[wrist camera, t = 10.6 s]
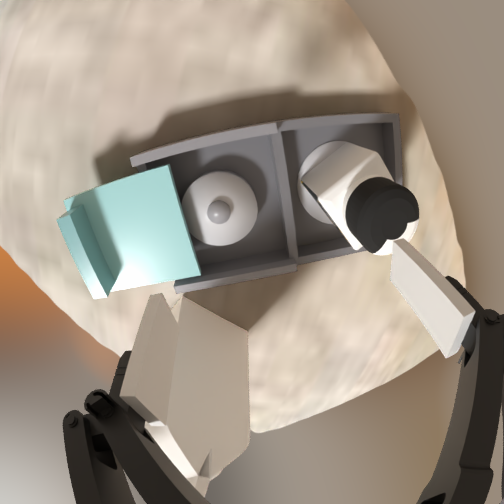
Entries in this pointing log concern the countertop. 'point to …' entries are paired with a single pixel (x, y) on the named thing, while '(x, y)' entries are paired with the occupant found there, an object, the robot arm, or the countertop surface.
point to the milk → (206, 396)
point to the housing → (265, 192)
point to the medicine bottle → (363, 199)
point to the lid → (129, 233)
